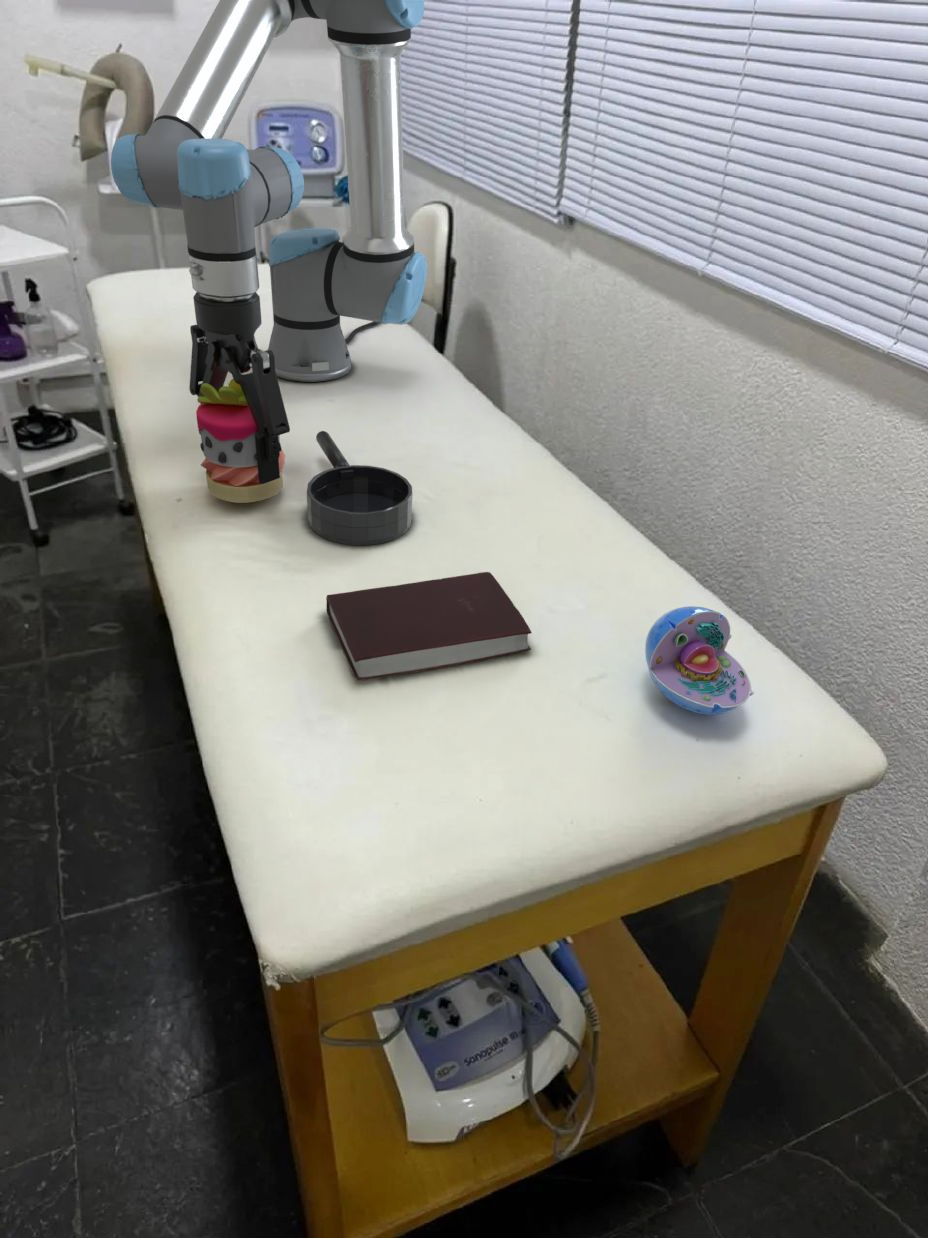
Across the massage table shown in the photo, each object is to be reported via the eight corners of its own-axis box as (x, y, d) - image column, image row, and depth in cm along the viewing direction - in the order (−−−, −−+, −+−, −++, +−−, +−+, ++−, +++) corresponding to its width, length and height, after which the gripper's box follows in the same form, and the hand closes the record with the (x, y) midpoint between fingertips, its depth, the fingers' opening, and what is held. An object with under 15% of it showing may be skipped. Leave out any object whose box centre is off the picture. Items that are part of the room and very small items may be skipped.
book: (326, 614, 94) (325, 589, 92) (487, 589, 100) (490, 565, 98) (354, 685, 85) (354, 660, 83) (530, 653, 91) (534, 629, 89)
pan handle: (354, 480, 115) (354, 467, 114) (340, 482, 114) (339, 468, 113) (328, 440, 124) (327, 428, 123) (314, 442, 124) (314, 429, 123)
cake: (216, 464, 118) (203, 357, 109) (292, 469, 118) (286, 363, 109) (195, 500, 109) (179, 388, 101) (276, 506, 110) (268, 395, 101)
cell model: (685, 748, 81) (709, 669, 75) (616, 672, 89) (633, 596, 84) (766, 723, 84) (795, 646, 79) (693, 652, 93) (714, 579, 87)
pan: (425, 536, 109) (427, 505, 106) (323, 552, 104) (322, 520, 102) (392, 489, 119) (392, 460, 116) (297, 502, 114) (295, 471, 112)
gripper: (143, 273, 102) (169, 443, 116) (259, 324, 91) (274, 506, 104) (197, 264, 107) (217, 428, 120) (315, 311, 95) (322, 487, 108)
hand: (243, 464), depth 112 cm, fingers closed on cake, 10 cm apart
